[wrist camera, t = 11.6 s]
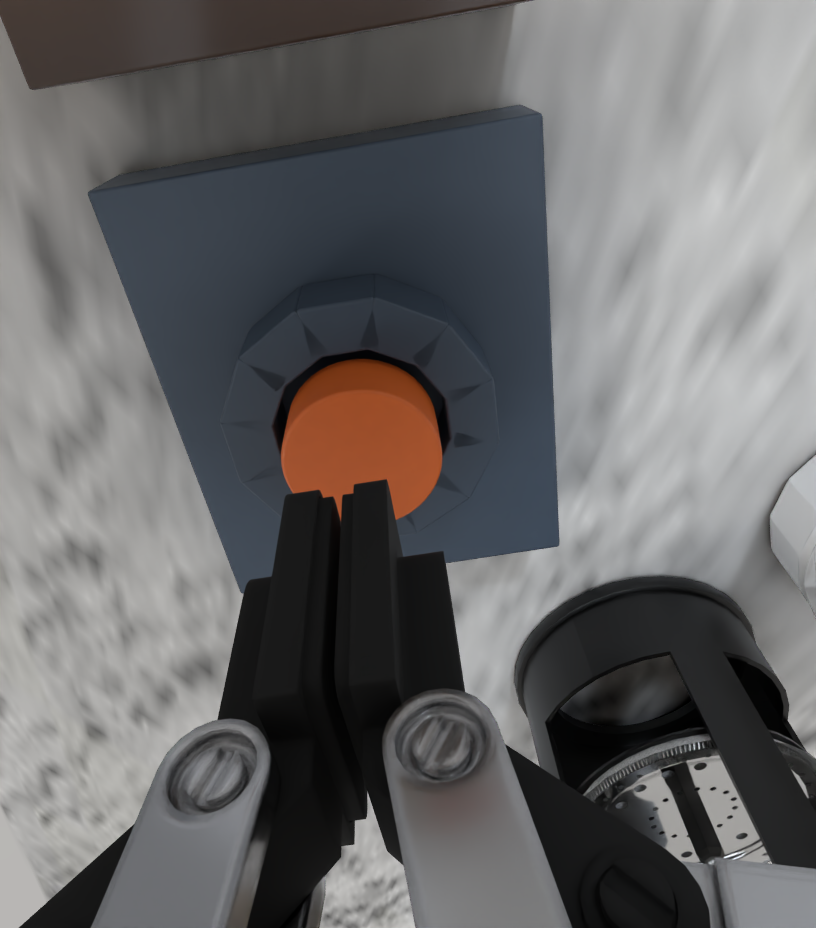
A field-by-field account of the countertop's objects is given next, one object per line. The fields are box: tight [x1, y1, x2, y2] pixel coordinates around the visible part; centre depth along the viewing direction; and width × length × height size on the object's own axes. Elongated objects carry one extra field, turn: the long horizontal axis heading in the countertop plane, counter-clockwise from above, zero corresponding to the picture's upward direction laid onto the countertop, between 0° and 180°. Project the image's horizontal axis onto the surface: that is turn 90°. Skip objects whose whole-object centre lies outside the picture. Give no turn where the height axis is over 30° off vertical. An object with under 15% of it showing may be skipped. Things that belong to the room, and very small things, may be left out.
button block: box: [88, 105, 559, 593], centre depth 18 cm, size 12×10×4 cm
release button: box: [281, 359, 442, 520], centre depth 16 cm, size 4×4×2 cm
